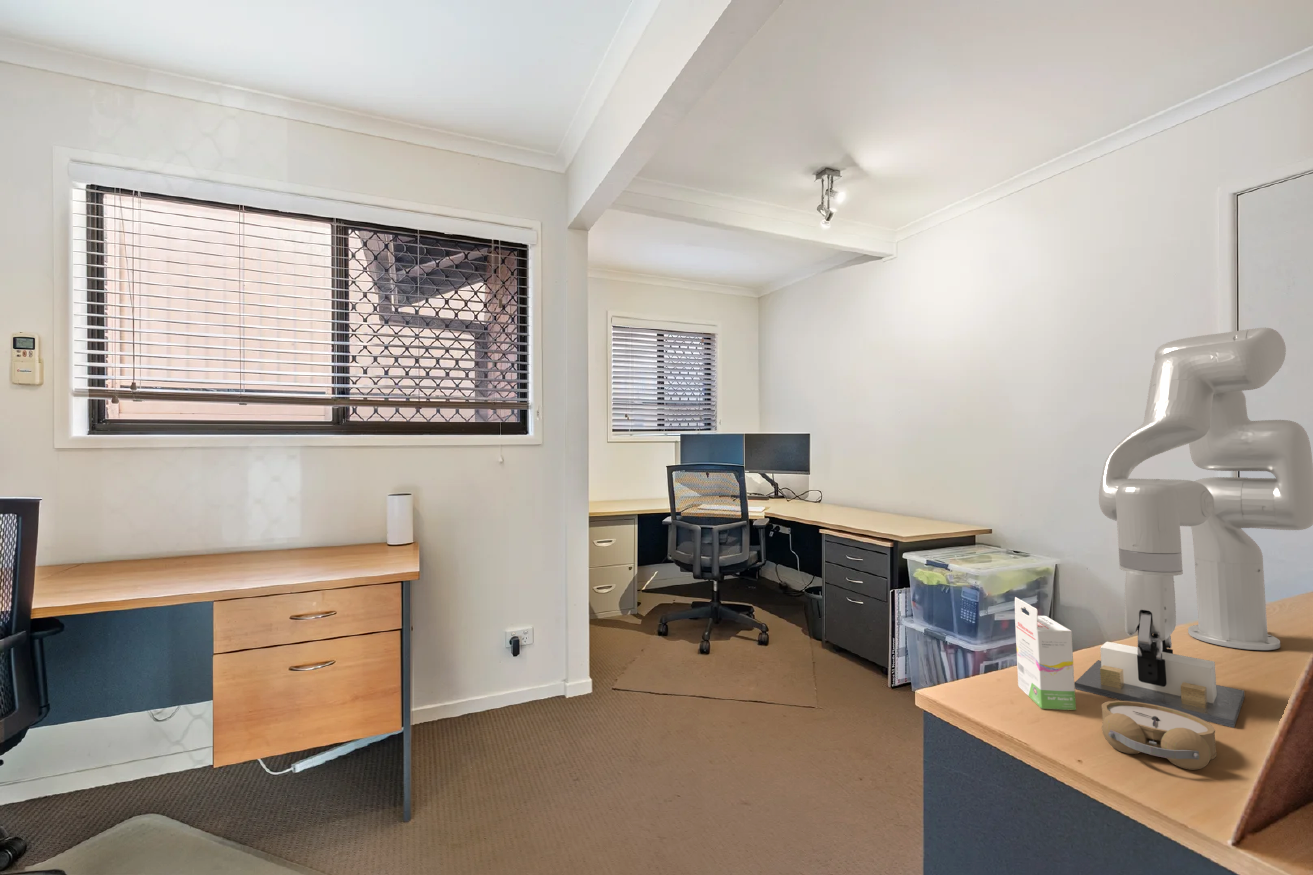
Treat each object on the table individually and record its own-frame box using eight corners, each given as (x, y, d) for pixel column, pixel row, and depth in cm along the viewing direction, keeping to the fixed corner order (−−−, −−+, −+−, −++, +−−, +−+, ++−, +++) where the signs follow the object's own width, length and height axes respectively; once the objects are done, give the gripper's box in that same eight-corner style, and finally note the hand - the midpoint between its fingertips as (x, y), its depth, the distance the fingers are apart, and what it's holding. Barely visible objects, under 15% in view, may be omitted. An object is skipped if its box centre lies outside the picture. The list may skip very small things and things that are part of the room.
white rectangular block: (1108, 671, 95) (1106, 641, 95) (1216, 695, 85) (1214, 661, 85) (1102, 678, 92) (1100, 647, 93) (1213, 703, 83) (1211, 668, 83)
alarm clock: (1214, 716, 75) (1215, 739, 65) (1216, 756, 74) (1218, 786, 64) (1106, 694, 83) (1091, 710, 72) (1107, 730, 82) (1093, 752, 72)
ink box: (1078, 711, 84) (1073, 610, 84) (1041, 709, 84) (1035, 609, 85) (1050, 687, 92) (1045, 595, 92) (1016, 686, 93) (1012, 595, 93)
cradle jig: (1098, 665, 100) (1097, 645, 100) (1244, 697, 86) (1243, 673, 86) (1074, 688, 91) (1073, 666, 91) (1234, 727, 77) (1232, 701, 78)
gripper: (1131, 551, 98) (1137, 657, 97) (1106, 566, 87) (1112, 686, 86) (1191, 556, 92) (1198, 669, 91) (1171, 573, 81) (1179, 702, 80)
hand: (1156, 676), depth 89 cm, fingers open, 5 cm apart
